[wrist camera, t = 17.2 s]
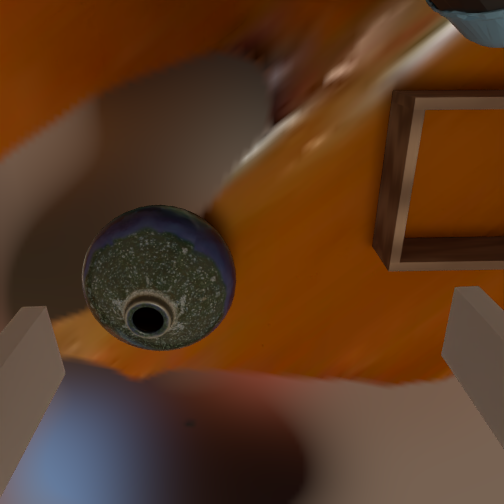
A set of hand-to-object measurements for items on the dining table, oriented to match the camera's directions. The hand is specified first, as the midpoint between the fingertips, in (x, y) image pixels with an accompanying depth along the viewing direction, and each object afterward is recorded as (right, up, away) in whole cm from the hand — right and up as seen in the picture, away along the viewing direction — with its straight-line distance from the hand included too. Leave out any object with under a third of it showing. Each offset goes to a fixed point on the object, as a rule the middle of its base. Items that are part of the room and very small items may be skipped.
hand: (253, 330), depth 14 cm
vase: (-10, +2, +35) cm, 37 cm away
